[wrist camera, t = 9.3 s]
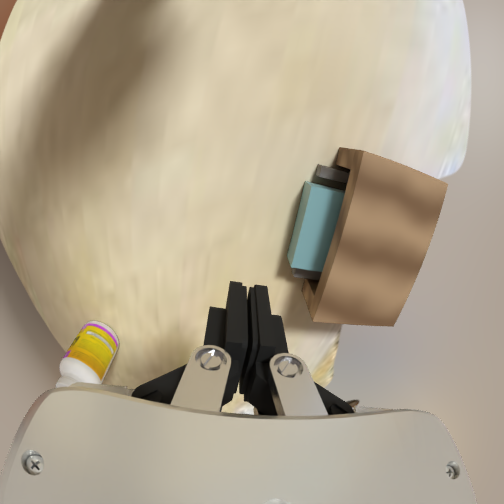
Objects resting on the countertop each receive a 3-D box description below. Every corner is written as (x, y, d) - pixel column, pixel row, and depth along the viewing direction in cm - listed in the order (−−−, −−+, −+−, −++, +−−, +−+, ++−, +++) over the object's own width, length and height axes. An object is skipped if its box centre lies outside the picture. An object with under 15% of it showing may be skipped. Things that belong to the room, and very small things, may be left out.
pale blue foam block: (305, 181, 29) (311, 186, 26) (394, 204, 30) (407, 211, 27) (286, 255, 32) (290, 267, 29) (373, 269, 33) (382, 280, 31)
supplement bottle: (87, 311, 35) (48, 369, 23) (124, 332, 36) (94, 397, 25) (82, 337, 37) (49, 392, 25) (115, 356, 39) (89, 416, 27)
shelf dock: (322, 142, 27) (343, 144, 21) (416, 173, 28) (448, 184, 22) (286, 288, 34) (295, 320, 28) (374, 298, 35) (393, 326, 29)
